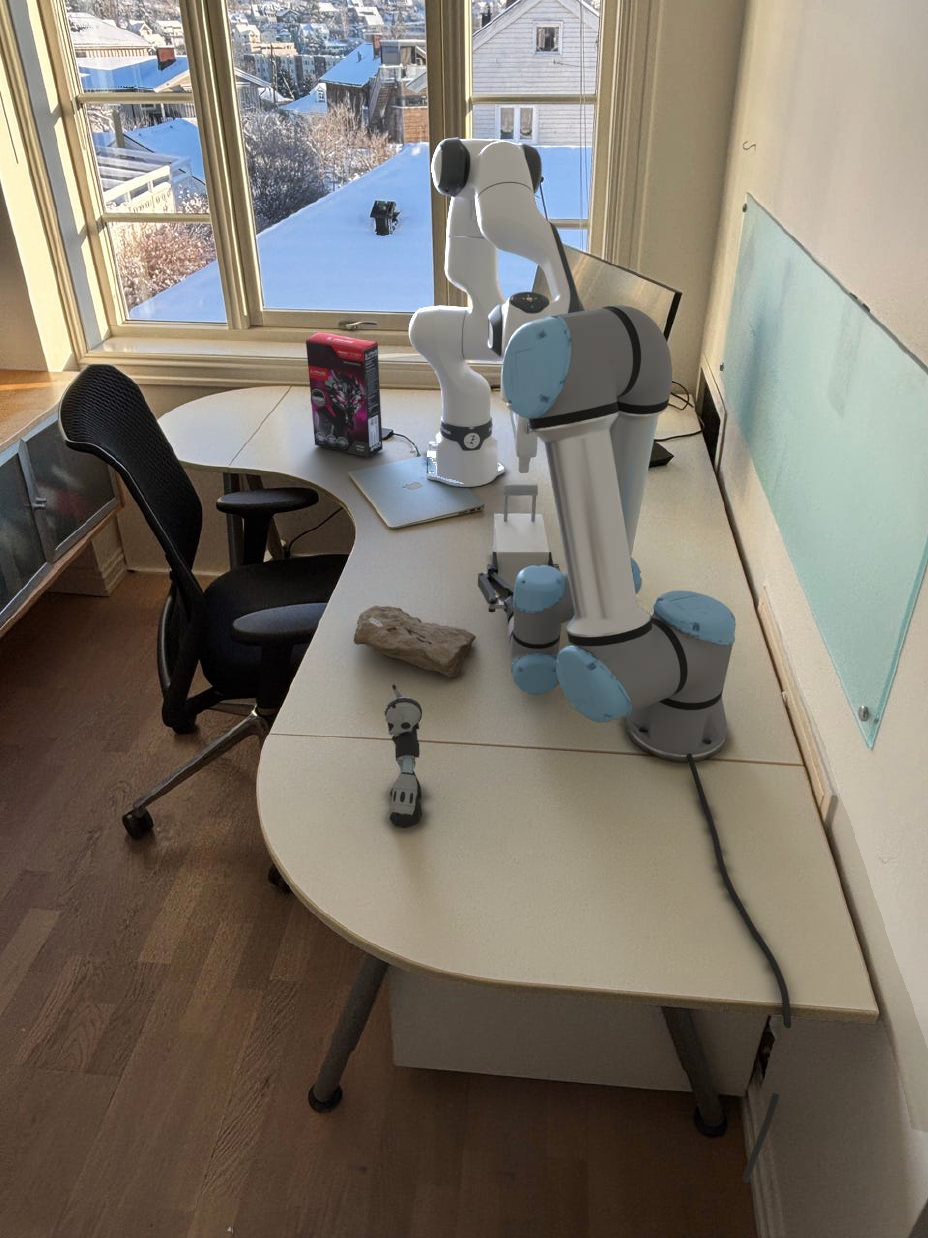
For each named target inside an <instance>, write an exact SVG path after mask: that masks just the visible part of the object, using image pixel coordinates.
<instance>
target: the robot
mask: <svg viewBox="0 0 928 1238" xmlns="http://www.w3.org/2000/svg"><path fill="white" fill-rule="evenodd" d="M391 688H392V690H393V692H394V695H395V697H396V698H395V699H393V700H392V701H390V702H389V703H388V704H387V705H386V707H385V710H384V711H383V712H384V714H383V715H384V716H385V718H384V719H385V721H386V723H387V728H388V735H389V736H392V737H391V740H392V741H393V744H394V745H395V746H394V751H395V752H394V754H395V755H394V757H395V762H396V763H397V765H398V767H399V770H400V771H399V772H400V773H398V776H397V777H396V779H395V781H394V783H393V787H392V788H391V790H390V793H389V794H390V797H391V802H390V805H391V814H390V816H389V821H390V822H392V823H393V825H394V826H396V827H400V828H408V827H411V826H413V825H416V824H418V823H420V822H421V819H422V816H423V812H422V811H423V810H422V805H421V801H420V799H421V798H422V797H423V794H422V787H421V784H420V781H419V778H418V777H417V774H416V773H415V771H414V769H415V767H416V758H419V759H420V755H421V754H420V742H419V739H418V731H419V729H420V723H419V722H421V720H422V717H423V708H422V706H421V704H420V703H419V702H418V701H417V700H415V699H414V698H411V697H409V696H403V695H402V694H401V692H400V691H399V688H398V687H397V686H396V684H392V685H391Z"/></svg>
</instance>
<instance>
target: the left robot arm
mask: <svg viewBox="0 0 928 1238" xmlns="http://www.w3.org/2000/svg"><path fill="white" fill-rule="evenodd" d="M542 165H543V163H542V157H541V155H540V153H539V151H538V149H537V148H536V147H533V146H532V145H529V144H526V143H523V142H519V143H515V142H512V141H507V140H502V139H496V138H488V139H485V138H462V139H460V138H459V137H450V138H446V139H443V140H441V141H440V143H439V144H438V145H437V146H436V149H435V151H434V154H433V157H432V161H431V173H432V174H431V175H432V179H433V184H434V187H435V188H436V190H437V191H438V193H439V194H441V195H443V196H446V197H450V198H451V200H450V205H449V209H448V210H449V211H448V215H447V216H448V217H447V225H446V239H445V241H446V242H445V261H444V272H445V276H446V278H447V280H448V281H449V282H450V283H451V284H452V285H453V286H454V287H456V288H457V289H459V290H461V291H462V292H464V293H466V294H467V295H468V297H469V299H470V306H469V307H466V306H465V307H464V306H448V305H434V306H427V307H423V308H419V309H418V310H417V311H415V313H414V314H413V315H412V318H411V319H410V322H409V327H408V337H409V341H410V345H412V347H413V349H414V350H415V351H416V353H418V354H419V355H420V356H421V357H422V358H424V360H426V361H427V363H428V364H429V366H430V367H431V368H432V369H433V371H434V373H435V375H436V377H437V380H438V383H439V386H440V393H441V394H440V395H441V409H442V416H441V417H440V420H439V432H438V433H437V434H436V435H435V441H429V442H428V451H427V454H426V458H427V457H432V458H430V459H432V461H433V463H436V464H435V465H436V475H438V476H440V477H443V478H445V479H446V478H447V479H452V480H456V481H459V482H462V483H464V484H460V483H453V482H449V481H446V480H443V479H441V478H437V477H432V476H428V475H427V474H426V479H428V480H431V481H437V482H440V483H443V484H445V485H448V486H453V487H459V488H460V487H461V488H470V487H471V488H472V487H479V486H480V487H481V486H483V485H486V484H489V483H491V482H493V481H494V480H495V479H496V478H497V476H500V475H502V474H504V473H505V467H504V466H503V465H502V464H501V463H500V462H499V441H498V440H497V439H496V437H495V436H493V417H492V416H491V409H492V407H491V406H492V389H491V385H490V384H489V382H488V381H487V380H486V378H485V377H483V376H482V375H481V374H480V373H478V372H476V371H475V370H473V369H472V368H471V367H470V365H469V364H468V362H467V361H476V362H490V363H497V362H498V363H499V362H503V359H504V355H505V350H506V348H507V347H508V344H509V340H510V339H511V337H512V335H513V334H514V333H515V331H516V330H517V329H518V328H520V327H521V326H522V325H524V324H526V323H528V322H531V321H535V320H538V319H542V318H546V317H548V316H554V315H560V314H567V313H574V312H581V311H587V310H586V308H585V306H584V304H583V302H582V300H581V297H580V295H579V291H578V289H577V286H576V282H575V279H574V275H573V273H572V270H571V267H570V264H569V260H568V257H567V253H566V250H565V247H564V245H563V241H562V239H561V235H560V233H559V231H558V229H557V227H556V225H555V224H554V223H552V222H551V221H550V220H547V218H546V217H545V216H544V215H543V213H541V210H540V209H539V208H538V205H537V204H536V200H535V195H536V194H537V192H538V190H539V189H540V184H541V180H542V175H543V173H542V172H543V167H542ZM499 250H500V251H502V252H505V253H509V254H513V255H515V256H518V257H522V258H524V259H527V260H528V261H531V262H532V263H535V264H536V265H537V266H538V267H540V269H541V270H542V271H543V273H544V276H545V279H546V282H547V285H548V289H549V293H550V295H551V299H552V301H550V299H549V298H548V297H547V296H545V295H544V294H541V293H539V292H535V291H520V292H516V293H513V294H512V295H510V296H509V297H508V298H507V300H506V299H505V296H504V294H503V292H502V288H501V286H500V282H499V270H498V268H499V267H498V265H499V264H498V263H499V262H498V260H499V259H498V258H499ZM502 368H503V366H501V370H500V395H499V397H500V399H501V401H502V402H504V403H505V404H506V407H507V409H508V410H509V415H510V421H511V422H510V423H511V427H512V429H511V430H512V434H513V441H514V448H515V455H516V457H518V472H519V473H521V474H527V473H529V470H530V462H531V459H532V458H536V457H537V455H538V443H539V442H538V439H539V437H538V436H536V435H535V434H534V433H532V432H531V430H530V425H529V420H528V419H526V418H523V417H521V416H519V415H517V414H516V413H515V412H514V411H513V409H512V408H511V405H512V404H511V403H509V402H508V400H507V398H506V395H505V391H504V387H503V378H502ZM434 472H435V471H429V473H434Z"/></svg>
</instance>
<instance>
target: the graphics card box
mask: <svg viewBox="0 0 928 1238" xmlns="http://www.w3.org/2000/svg"><path fill="white" fill-rule="evenodd" d="M305 346H306V347H305V348H306V358H307V367H308V379H309V380H308V381H309V393H310V403H311V404H310V405H311V415H312V424H313V425H312V426H313V436H314V437H313V438H314V446H317V447H322V448H327V449H329V450H330V449H331V450H335V451H339V452H344V453H347V454H352V455H356V456H361V457H366V458H371V457H372V456H373V455H376V454H377V453H378V452H381V451H382V450H383V449H384V448H383V428H382V427H383V426H382V410H381V407H382V406H381V389H380V388H381V386H380V368H379V367H380V366H379V365H380V363H379V343H378V341H375V340H374V341H371V340H367V339H366V340H364V339H360V338H354V337H349V336H344V335H338V334H334V333H333V334H332V333H327V332H322V331H321V332H317V333H314V334H313V335H311V336H309V337H308V338H306V340H305Z"/></svg>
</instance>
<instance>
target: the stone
mask: <svg viewBox="0 0 928 1238" xmlns="http://www.w3.org/2000/svg"><path fill="white" fill-rule="evenodd" d="M356 624H357V626H356V629H355V633H354V635H353V642H354V644H355V645H357V646H358V645H365V646H369V647H370V648H371V649H372V650H373V652H376V653H377V654H382V655H386V656H387V657H391V658H394V659H399V660H401V661H404V662H406V663H410V664H411V665H414V666H417V667H419V668H420V669H423V670H425V671H433V672H438V673H440V674H442V675H443V677H446V678H447V677H448V678H449V679H450V678H454V677H457V675H458V674H459V673H460V671H461V669H462V667H463V662H464V658H466V656H467V654H468V652H469V650H470V649H471V647H472V644H473V642H474V641H476V638H477V637H476V636H475V634H473V633H472V632H470V631H467V629H464V628H460V627H454V626H448V625H447V626H446V625H441V624H438V623H435V622H433V623H431V622H424V621H422V620H421V619H420V618H419V617H417V616H415V617H414V616H412V615H411V614H409V613H408V612H405V611H404V610H403V609H402V608H401V607H396V606H391V605H385V606H382V605H381V606H380V605H374V606H372V607H369V608H368V609H366V610H364V611H363V612H361V613H360V614H359V616H358V619H357V623H356Z"/></svg>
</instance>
